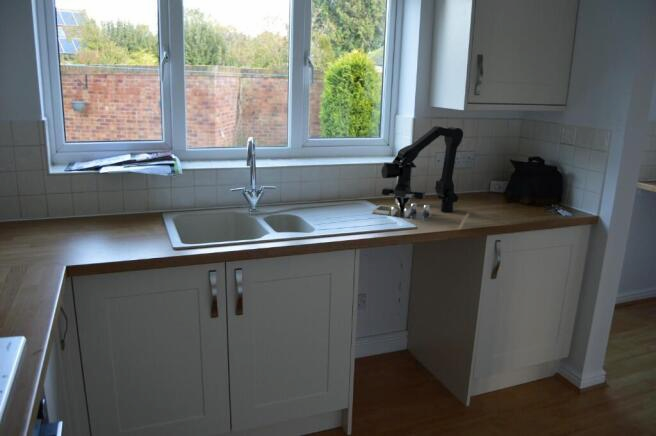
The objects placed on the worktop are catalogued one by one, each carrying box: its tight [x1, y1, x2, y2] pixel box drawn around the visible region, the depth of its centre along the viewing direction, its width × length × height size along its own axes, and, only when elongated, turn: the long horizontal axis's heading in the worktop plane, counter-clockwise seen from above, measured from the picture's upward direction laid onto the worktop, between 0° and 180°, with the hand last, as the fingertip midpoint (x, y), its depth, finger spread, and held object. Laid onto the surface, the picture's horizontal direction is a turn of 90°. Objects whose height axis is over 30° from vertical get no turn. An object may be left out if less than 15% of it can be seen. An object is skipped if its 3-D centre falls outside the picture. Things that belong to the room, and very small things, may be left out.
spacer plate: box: [371, 202, 433, 222], centre depth 237 cm, size 13×25×5 cm, turn 68°
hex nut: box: [388, 204, 401, 214], centre depth 238 cm, size 5×6×3 cm
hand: (402, 211), depth 237 cm, fingers closed
